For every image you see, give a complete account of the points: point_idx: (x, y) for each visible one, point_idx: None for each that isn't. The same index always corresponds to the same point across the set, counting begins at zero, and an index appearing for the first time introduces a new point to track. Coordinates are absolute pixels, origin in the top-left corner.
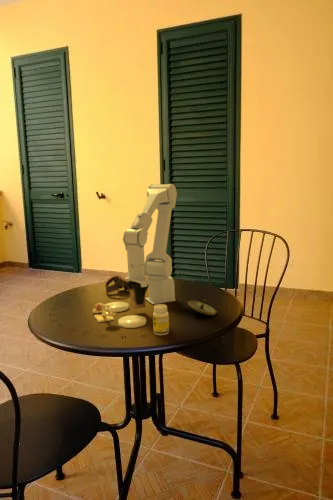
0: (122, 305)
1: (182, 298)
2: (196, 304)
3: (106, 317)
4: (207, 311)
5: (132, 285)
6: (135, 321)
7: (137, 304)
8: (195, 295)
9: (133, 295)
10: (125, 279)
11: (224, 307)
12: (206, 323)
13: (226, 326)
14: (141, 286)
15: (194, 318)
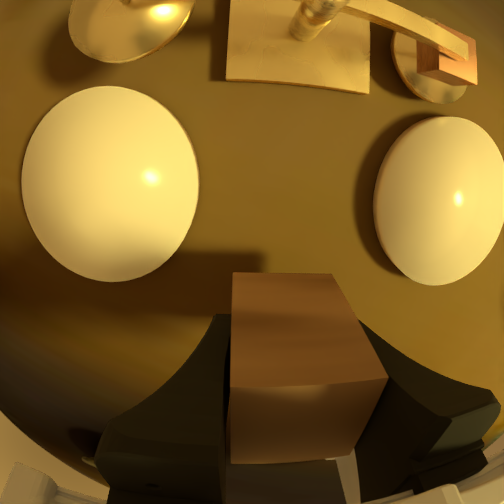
0: (432, 242)
1: (334, 469)
2: None
3: (270, 36)
4: None
5: (169, 465)
6: (63, 200)
7: (216, 315)
8: (329, 490)
9: (245, 350)
10: (416, 501)
11: None
12: (44, 422)
13: (23, 432)
14: (19, 470)
15: (92, 428)
